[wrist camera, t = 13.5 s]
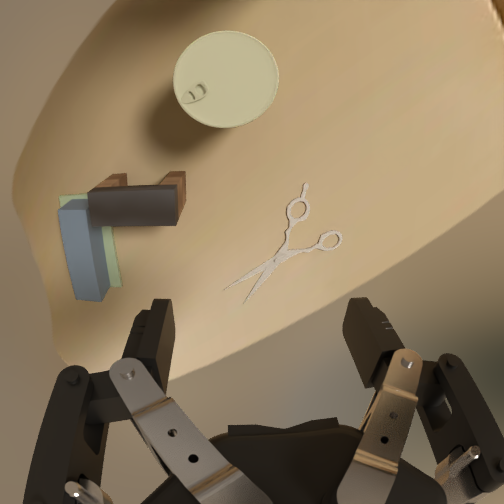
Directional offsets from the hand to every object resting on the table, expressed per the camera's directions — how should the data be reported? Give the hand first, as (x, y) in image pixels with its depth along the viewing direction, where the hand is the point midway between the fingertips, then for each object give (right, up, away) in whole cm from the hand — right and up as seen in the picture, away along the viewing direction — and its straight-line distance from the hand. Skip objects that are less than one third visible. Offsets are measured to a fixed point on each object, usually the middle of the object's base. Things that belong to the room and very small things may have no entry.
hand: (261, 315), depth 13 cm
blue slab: (-24, +4, +27) cm, 37 cm away
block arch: (-14, +11, +25) cm, 31 cm away
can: (-3, +23, +20) cm, 30 cm away
